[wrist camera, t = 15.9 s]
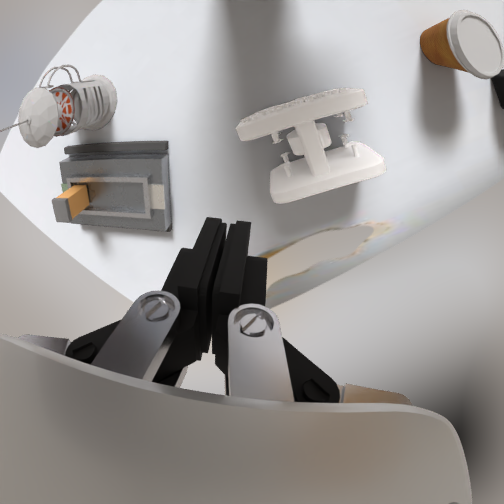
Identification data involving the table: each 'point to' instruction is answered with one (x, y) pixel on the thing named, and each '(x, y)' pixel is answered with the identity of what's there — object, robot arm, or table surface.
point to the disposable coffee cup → (464, 45)
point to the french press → (66, 108)
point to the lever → (70, 203)
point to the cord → (117, 146)
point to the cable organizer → (313, 145)
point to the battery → (499, 86)
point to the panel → (121, 189)
